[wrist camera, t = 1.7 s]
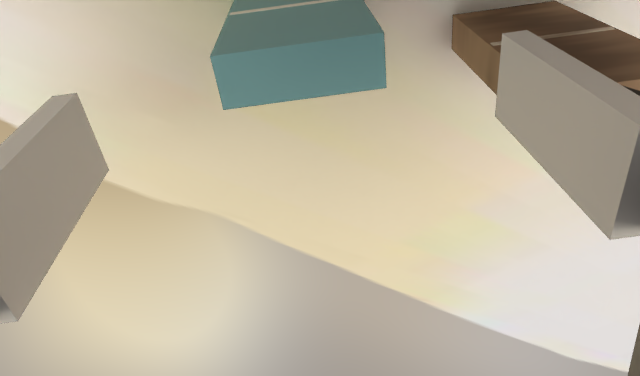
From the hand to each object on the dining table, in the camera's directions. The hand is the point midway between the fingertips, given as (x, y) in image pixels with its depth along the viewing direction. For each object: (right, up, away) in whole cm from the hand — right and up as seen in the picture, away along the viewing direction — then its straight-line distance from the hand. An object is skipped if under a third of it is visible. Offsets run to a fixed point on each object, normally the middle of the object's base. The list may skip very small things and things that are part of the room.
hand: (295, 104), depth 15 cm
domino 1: (-1, +8, +12) cm, 14 cm away
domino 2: (+12, +7, +13) cm, 19 cm away
